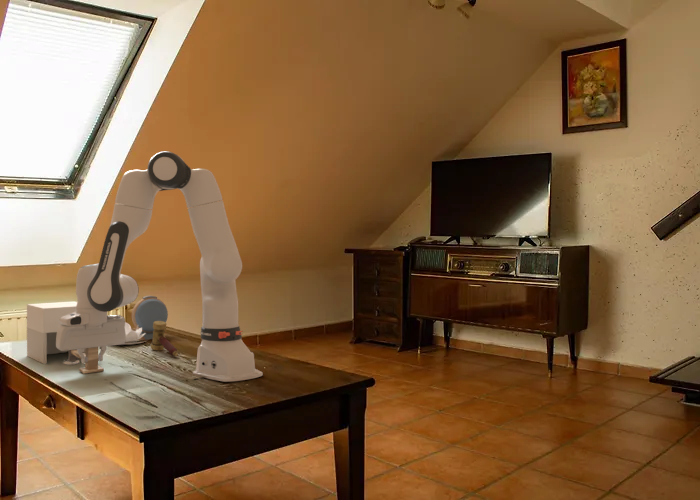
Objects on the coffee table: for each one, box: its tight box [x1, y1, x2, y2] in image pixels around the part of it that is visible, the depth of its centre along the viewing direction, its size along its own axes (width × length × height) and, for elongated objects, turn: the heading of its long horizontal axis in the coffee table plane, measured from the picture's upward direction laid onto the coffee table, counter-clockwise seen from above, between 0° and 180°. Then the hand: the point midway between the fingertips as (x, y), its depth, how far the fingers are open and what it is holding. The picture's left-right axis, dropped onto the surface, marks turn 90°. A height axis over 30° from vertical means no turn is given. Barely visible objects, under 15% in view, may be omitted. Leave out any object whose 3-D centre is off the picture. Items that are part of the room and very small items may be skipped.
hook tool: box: [67, 347, 105, 374], centre depth 201 cm, size 19×6×8 cm, turn 42°
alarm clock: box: [131, 295, 169, 341], centre depth 260 cm, size 14×10×18 cm
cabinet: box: [26, 301, 86, 365], centre depth 219 cm, size 19×16×18 cm
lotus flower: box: [119, 321, 147, 346], centre depth 245 cm, size 14×15×9 cm
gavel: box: [150, 321, 179, 357], centre depth 227 cm, size 21×5×10 cm, turn 36°
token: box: [62, 359, 81, 366], centre depth 209 cm, size 5×5×1 cm
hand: (92, 362), depth 195 cm, fingers closed on hook tool, 3 cm apart
